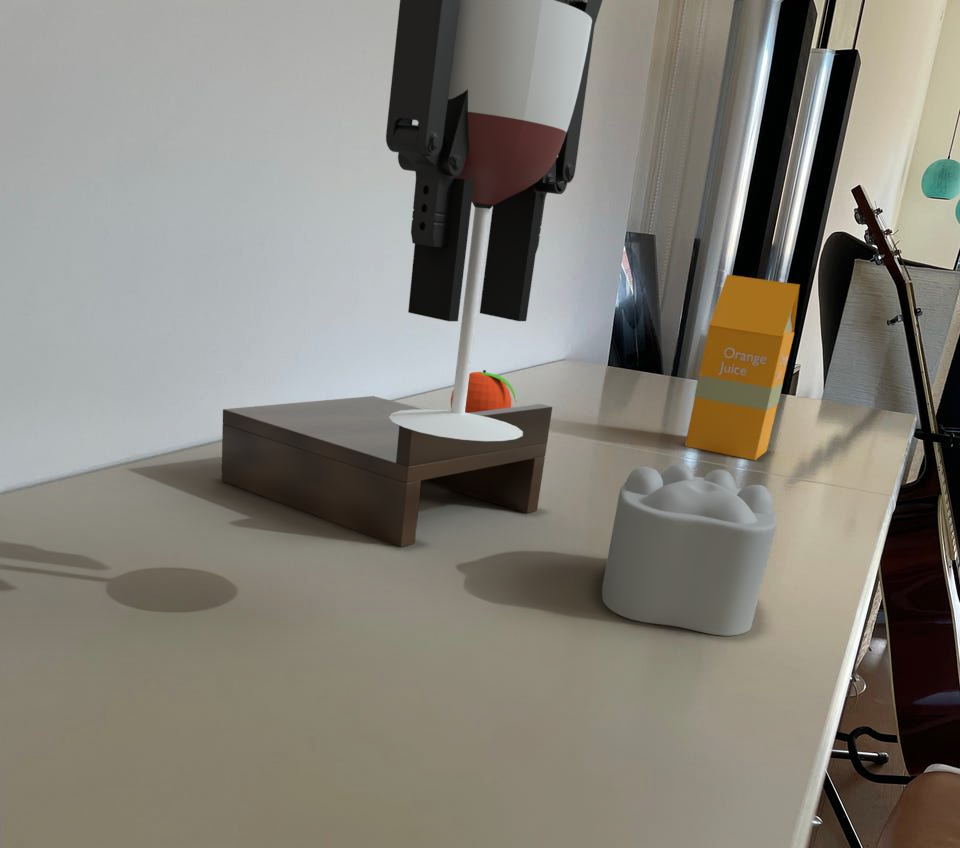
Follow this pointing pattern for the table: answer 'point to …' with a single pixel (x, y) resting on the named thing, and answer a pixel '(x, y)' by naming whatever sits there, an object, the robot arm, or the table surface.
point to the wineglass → (505, 147)
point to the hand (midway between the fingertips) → (469, 316)
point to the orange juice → (743, 367)
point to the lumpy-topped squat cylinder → (689, 550)
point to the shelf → (376, 461)
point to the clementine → (487, 392)
